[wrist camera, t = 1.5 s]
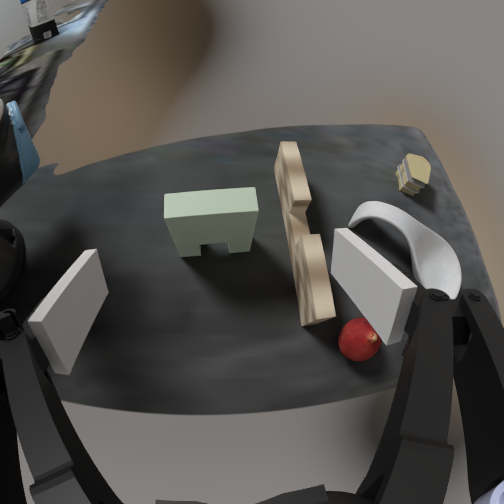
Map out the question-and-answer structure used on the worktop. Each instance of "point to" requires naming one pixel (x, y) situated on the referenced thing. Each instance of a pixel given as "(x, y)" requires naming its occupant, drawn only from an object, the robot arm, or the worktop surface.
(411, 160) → the pale yellow layered block
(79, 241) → the worktop surface
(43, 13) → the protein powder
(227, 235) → the notched piece
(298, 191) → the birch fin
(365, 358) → the onion
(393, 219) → the spoon rest
